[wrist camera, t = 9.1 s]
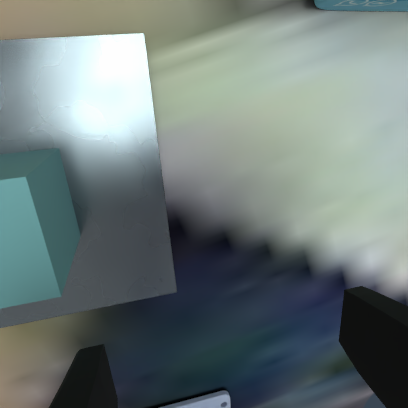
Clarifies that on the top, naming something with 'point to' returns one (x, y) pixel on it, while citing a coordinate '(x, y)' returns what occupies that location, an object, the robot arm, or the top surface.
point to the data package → (363, 5)
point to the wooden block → (35, 227)
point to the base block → (93, 163)
